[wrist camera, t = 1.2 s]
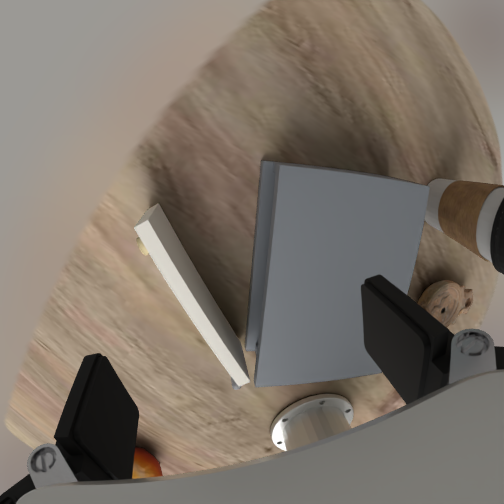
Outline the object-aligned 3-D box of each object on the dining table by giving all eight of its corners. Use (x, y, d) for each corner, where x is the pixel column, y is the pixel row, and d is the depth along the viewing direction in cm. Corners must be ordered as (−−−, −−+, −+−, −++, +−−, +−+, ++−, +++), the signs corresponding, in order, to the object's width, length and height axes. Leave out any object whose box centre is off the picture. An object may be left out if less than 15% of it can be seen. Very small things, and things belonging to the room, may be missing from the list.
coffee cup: (401, 193, 32) (504, 230, 18) (446, 154, 32) (547, 174, 18) (426, 249, 35) (514, 301, 21) (466, 210, 34) (555, 245, 20)
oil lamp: (467, 273, 38) (490, 287, 33) (452, 319, 40) (472, 335, 36) (401, 273, 36) (425, 290, 31) (386, 326, 38) (405, 347, 33)
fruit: (140, 482, 40) (121, 504, 32) (117, 443, 41) (94, 462, 33) (180, 473, 40) (165, 498, 32) (156, 433, 41) (137, 453, 33)
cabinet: (355, 339, 37) (381, 372, 31) (244, 345, 35) (255, 387, 28) (389, 176, 31) (429, 186, 25) (261, 160, 29) (279, 165, 22)
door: (242, 344, 34) (252, 384, 28) (224, 352, 34) (231, 393, 28) (158, 203, 28) (147, 219, 22) (138, 214, 28) (122, 234, 22)
